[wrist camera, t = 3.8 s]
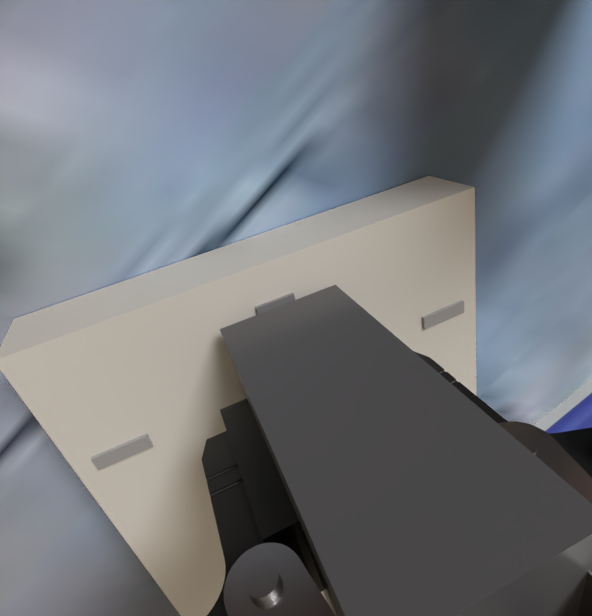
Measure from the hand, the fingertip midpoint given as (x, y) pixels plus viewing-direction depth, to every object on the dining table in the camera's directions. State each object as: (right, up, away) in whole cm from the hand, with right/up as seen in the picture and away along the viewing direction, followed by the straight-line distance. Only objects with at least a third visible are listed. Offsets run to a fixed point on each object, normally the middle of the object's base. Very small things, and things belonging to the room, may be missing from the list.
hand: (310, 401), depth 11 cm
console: (+1, -5, +7) cm, 9 cm away
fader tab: (0, 0, +1) cm, 1 cm away
